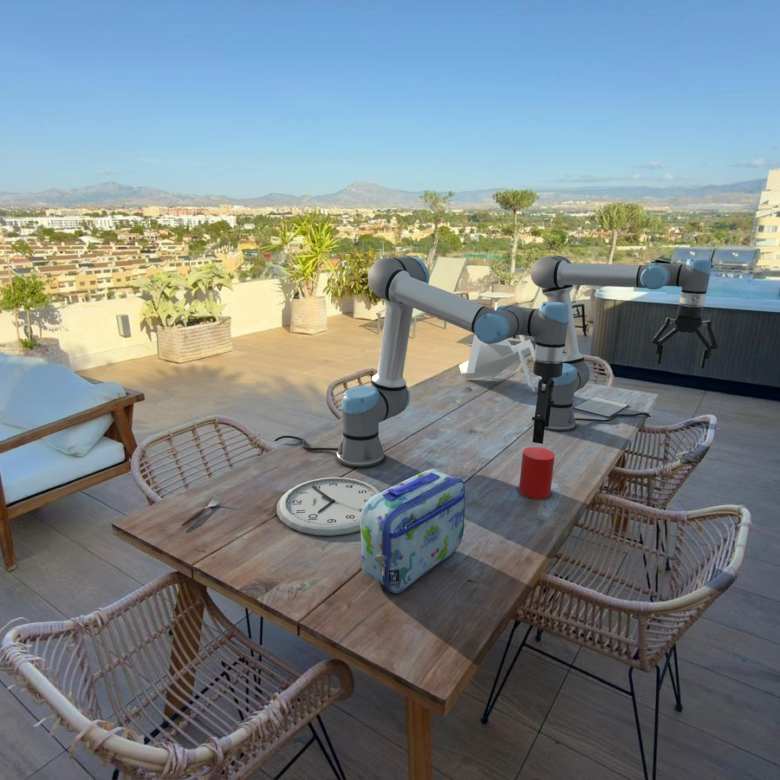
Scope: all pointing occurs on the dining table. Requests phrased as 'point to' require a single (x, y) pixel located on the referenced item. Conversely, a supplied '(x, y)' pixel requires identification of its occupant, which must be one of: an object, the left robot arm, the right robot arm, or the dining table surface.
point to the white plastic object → (496, 358)
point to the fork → (211, 504)
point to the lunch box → (411, 528)
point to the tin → (536, 472)
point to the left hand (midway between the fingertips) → (540, 434)
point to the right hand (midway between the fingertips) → (679, 365)
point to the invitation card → (601, 406)
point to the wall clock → (325, 506)
